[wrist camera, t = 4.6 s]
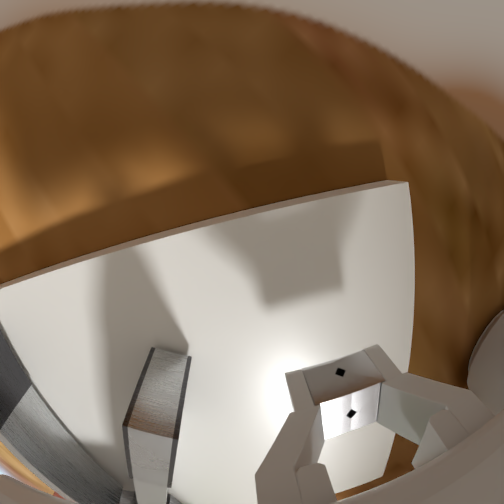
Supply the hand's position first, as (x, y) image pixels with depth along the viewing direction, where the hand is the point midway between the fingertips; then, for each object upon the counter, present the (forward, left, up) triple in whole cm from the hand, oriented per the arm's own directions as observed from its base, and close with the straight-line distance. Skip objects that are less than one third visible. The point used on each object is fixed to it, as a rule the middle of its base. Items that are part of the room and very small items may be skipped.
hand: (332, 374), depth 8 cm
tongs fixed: (-6, +13, -2) cm, 15 cm away
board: (-6, +10, -4) cm, 13 cm away
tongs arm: (-5, +8, -2) cm, 10 cm away
